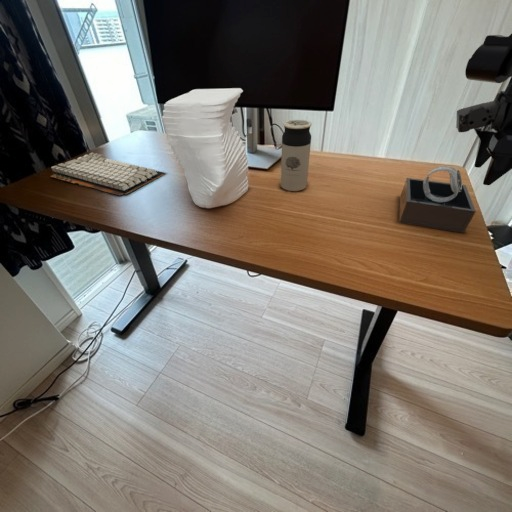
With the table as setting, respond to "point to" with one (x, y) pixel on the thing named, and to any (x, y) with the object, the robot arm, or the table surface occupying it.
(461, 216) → the basin
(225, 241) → the table surface
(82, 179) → the mechanical keyboard
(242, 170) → the paper stack
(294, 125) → the travel mug
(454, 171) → the watch
